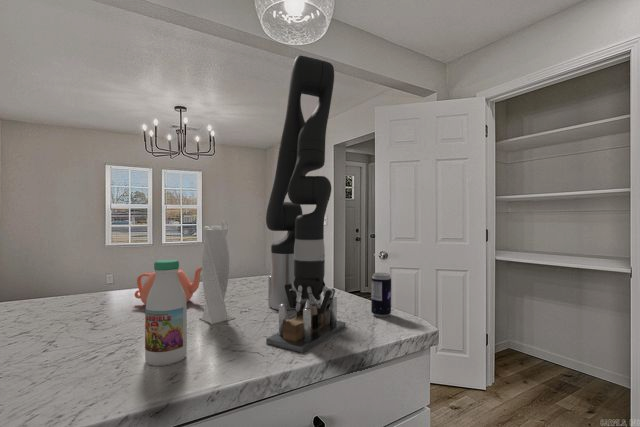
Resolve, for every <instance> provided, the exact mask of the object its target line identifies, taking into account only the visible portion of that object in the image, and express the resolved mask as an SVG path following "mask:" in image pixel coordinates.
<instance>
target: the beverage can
mask: <svg viewBox="0 0 640 427" xmlns="http://www.w3.org/2000/svg"><path fill="white" fill-rule="evenodd" d="M370 299H371V306H370V307H371V313H372V314H373V316H375V317H379V318H387V317H389V315H390V314H392V277H391V275H390V273H386V272H374V273H372V277H371V298H370Z"/></svg>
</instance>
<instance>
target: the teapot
mask: <svg viewBox="0 0 640 427" xmlns="http://www.w3.org/2000/svg"><path fill="white" fill-rule="evenodd" d="M201 274H202V266H200V267H198V268H196V270H195V272H194V278H193V281H192V282H191V281H190V279H189V277H188V276H187V274H186V273H185V272H184V271H183V270H182V269H179V271H178V278H179V281H180V284H181V286H182V288H183V290H184V292H185V296H186V304H187V303H188V302H189V301H190V300H191V298H192V297H193V294H194V293H196V292H197V290H198V289H199V287H200V282H201V281H200V280H201ZM155 275H156V274H155V272H154V271H153V272H151V273H150V272H142V273H141V274H139V275H138V276H137V278H136V284H137V287H138V288H137V289H138V290H136V291H135V292H134V297H135V298H136V299H139V300H141V302H142V303H143V304H144V306H146V301H147V297H148V294H149V292H150V290H151V288H152V286H153V283H154V280H155ZM143 277H148V278H147V279H146V280H145V282H144V284H143V285H142V278H143Z"/></svg>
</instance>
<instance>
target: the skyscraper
mask: <svg viewBox="0 0 640 427" xmlns="http://www.w3.org/2000/svg"><path fill="white" fill-rule="evenodd" d="M224 224H225V225H224ZM202 231H203V234H204V237H205V238H204V239H205V241H204V245H203V250H202V255H201V256H202V259H201V267H202V271H201V279H202V280H201V281H202V287H203V294H204V299H205V306H204V310H203V314H202V317H200V318H199V321H202V322H205V323H208V324H210V325H211V326H212V325H216V324H220V323H225V322H228V321H232V320H235V319H236V318H235V317H232V316H230V315H228V310H227V307H226V303H225V298H226V294H227V290H228V284H229V279H230V278H229V277H230V253H229V247H228V242H227V233H228V231H229V227H228V223H227V221H226V220H225V219H224V220H222V221H221V225H210V226H208V225H205V226H204V227H203V228H202Z"/></svg>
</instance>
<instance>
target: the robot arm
mask: <svg viewBox="0 0 640 427" xmlns="http://www.w3.org/2000/svg"><path fill="white" fill-rule="evenodd" d="M334 84H335V69H334V65H333V64H332V63H331V62H328V61H325V60H322V59H318V58H315V57H309V56H306V55H301V54H300V55H297V56H296V58H295V59H294V61H293V63H292V68H291V73H290V80H289V89H288V97H287V106H286V113H285V119H284V124H283V129H282V134H281V138H280V144H279V150H278V154H277V163H276V167H275V168H276V170H275V174H274V179H273V180H274V182H273V186H272V188H271V193H270V195H269V196H270V197H269V200H268V204H267V209H266V213H265V214H266V215H265V222H266V224H265V225H266V227H267V228H268V230H270V231H273V232H287V233H286V235H285V236H284V237H283V238H281V239H279V240H277V241H275V242H272V244H271V246H270V265H271V266H270V276H268V292H267V293H268V294H267V295H268V301H267V302H268V304H267V306H268V307H270V308H271V309H273V310H278V311H279V304H287V311H291V310H295V312H296V317H298V316H300V315H303V309H304V308H306V306H307V300H310V304H311V306H312V309H313V327H312V328H313V330H317V329H319V327H321V314H323V313H325V312H327V311H329V309H330V305H331V302H332V300H333V297H335V293H336V290H335V288H329V287H328V286H326V283H325V281H324V279H325V275H326V274H325V261H326V259H325V256H326V254H325V251H326V250H325V241H324V235H325V234H324V232H325V231H324V229H325V216H326V212H327V207H328V204H329V202H330V197H331V193H332V183H331V181H330V179H329V178H328V177H326V176H325V175H308V176H307V174H308V173H310V172H313V171H317V170H320V169H323V167H324V165H325V163H326V162H325V161H326V136H327V127H328V122H329V121H328V120H329V115H330V111H331V104H332V99H333V98H332V96H333V91H334ZM302 95H306V96H310V97H311V96H312V97H317V98H318V102H317V106H316V107H315V109H314V111H313V112H312V114H311V115H309V118H307V120H306V121H305V119H304V114H303V110H302V104H301V102H302V101H301V100H302ZM287 196H288V199H289V201H285V200H286V197H287ZM302 205H305V206H310V205H313V206H314V205H315V208H314V210H313V211H312V212H309V213H304V214H303V209H302ZM322 296H323V298H322ZM322 299H323V300H322Z"/></svg>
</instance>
